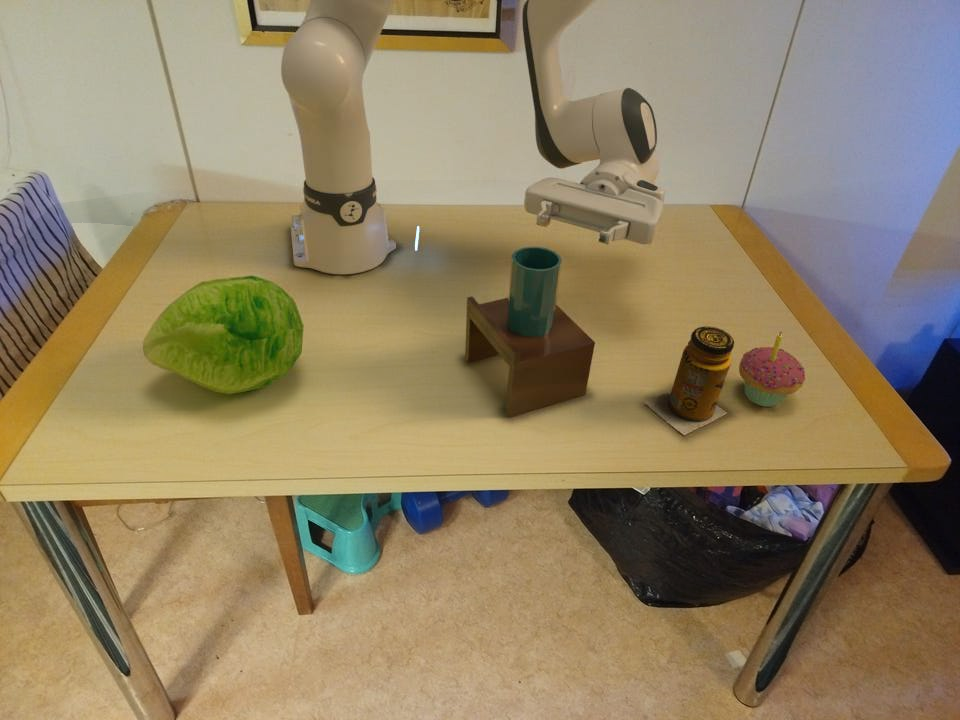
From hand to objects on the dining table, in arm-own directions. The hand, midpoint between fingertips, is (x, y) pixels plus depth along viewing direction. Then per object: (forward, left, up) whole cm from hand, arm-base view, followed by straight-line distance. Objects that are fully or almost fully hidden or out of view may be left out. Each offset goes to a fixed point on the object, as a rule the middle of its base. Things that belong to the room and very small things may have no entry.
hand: (572, 229), depth 91 cm
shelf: (+7, -10, -18) cm, 22 cm away
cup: (+7, -10, -9) cm, 15 cm away
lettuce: (-8, -47, -18) cm, 51 cm away
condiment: (+22, +7, -18) cm, 29 cm away
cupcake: (+24, +19, -18) cm, 36 cm away
